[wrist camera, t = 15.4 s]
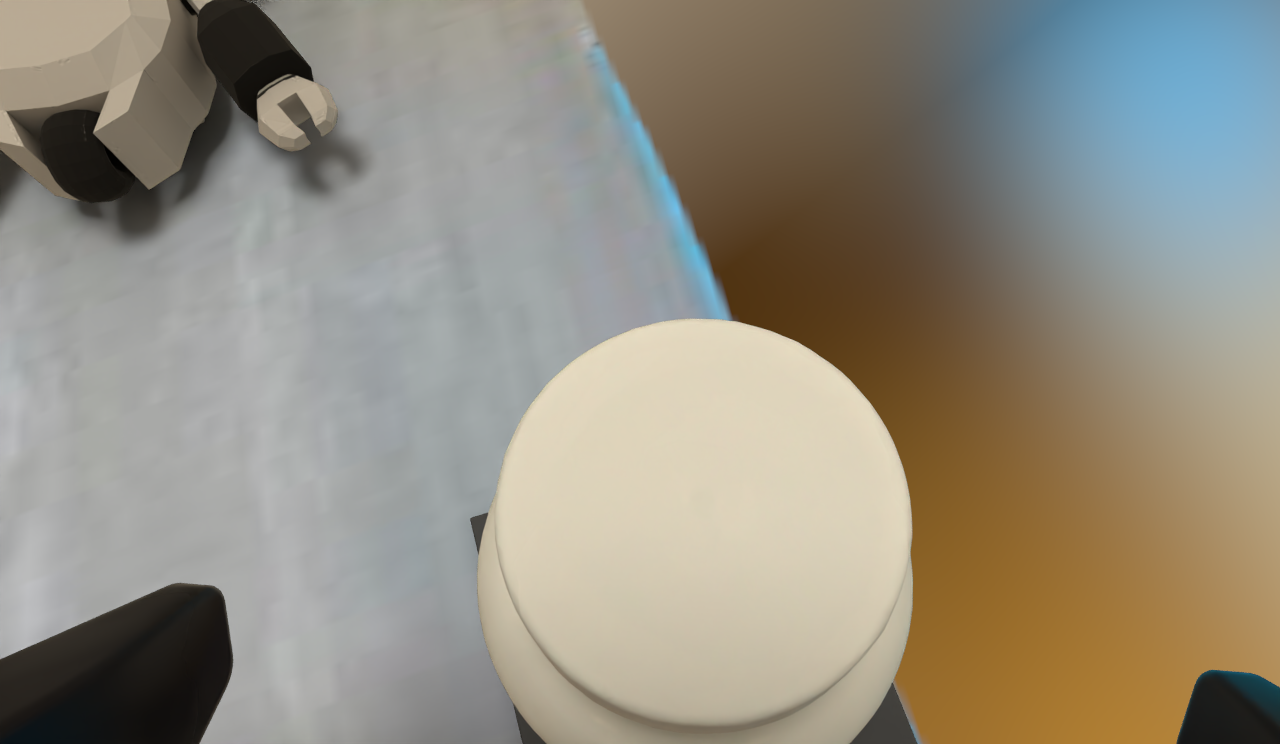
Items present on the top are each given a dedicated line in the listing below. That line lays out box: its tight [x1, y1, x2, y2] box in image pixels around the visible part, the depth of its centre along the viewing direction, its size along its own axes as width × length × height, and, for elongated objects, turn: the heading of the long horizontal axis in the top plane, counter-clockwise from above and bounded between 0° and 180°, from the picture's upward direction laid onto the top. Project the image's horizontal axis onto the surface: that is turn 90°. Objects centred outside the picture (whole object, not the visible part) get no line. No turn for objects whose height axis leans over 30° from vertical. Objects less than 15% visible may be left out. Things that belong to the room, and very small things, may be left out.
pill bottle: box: [477, 319, 913, 744], centre depth 13 cm, size 5×5×10 cm
